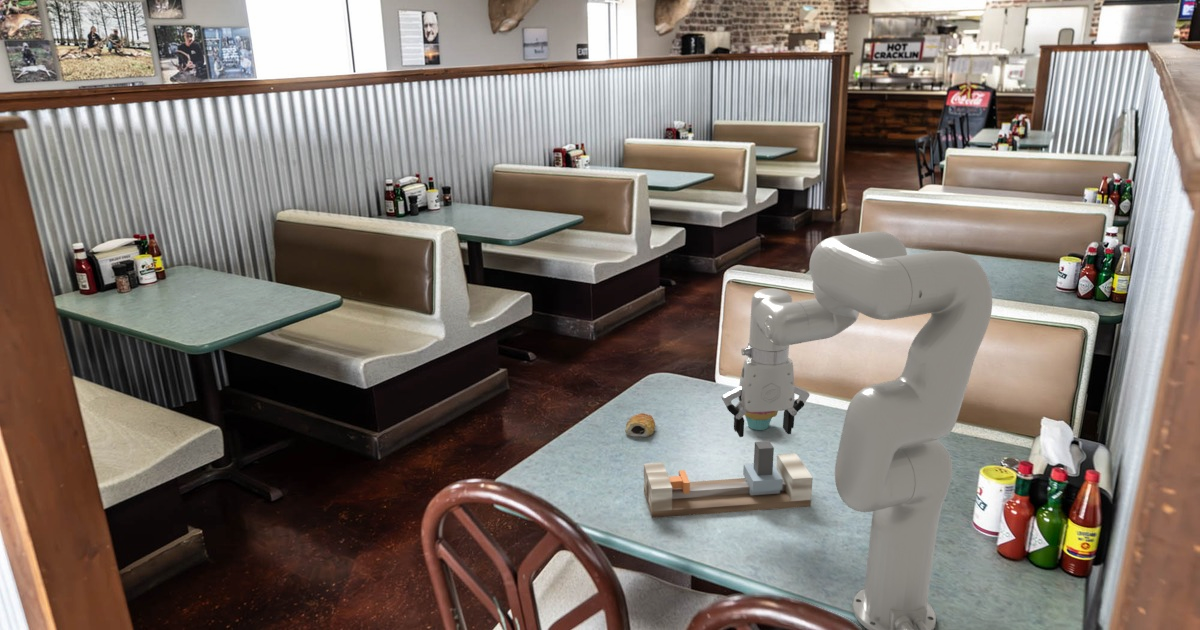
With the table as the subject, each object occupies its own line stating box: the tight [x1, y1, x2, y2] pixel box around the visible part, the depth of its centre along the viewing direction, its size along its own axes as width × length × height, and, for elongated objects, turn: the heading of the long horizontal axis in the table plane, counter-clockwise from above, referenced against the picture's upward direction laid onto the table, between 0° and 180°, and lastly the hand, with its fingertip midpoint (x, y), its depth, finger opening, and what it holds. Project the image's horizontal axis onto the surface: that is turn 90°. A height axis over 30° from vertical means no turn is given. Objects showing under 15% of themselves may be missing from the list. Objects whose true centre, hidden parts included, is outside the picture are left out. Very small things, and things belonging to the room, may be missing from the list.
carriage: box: [743, 440, 783, 495], centre depth 165 cm, size 7×6×10 cm
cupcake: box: [744, 411, 779, 431], centre depth 195 cm, size 9×8×12 cm
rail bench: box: [643, 452, 814, 519], centre depth 165 cm, size 10×32×6 cm, turn 96°
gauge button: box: [668, 469, 691, 494], centre depth 164 cm, size 5×6×2 cm
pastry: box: [624, 412, 656, 438], centre depth 196 cm, size 9×7×4 cm
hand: (763, 432), depth 163 cm, fingers open, 9 cm apart
